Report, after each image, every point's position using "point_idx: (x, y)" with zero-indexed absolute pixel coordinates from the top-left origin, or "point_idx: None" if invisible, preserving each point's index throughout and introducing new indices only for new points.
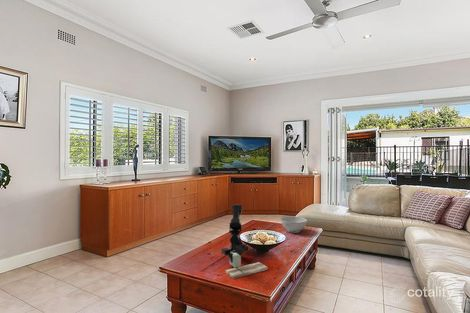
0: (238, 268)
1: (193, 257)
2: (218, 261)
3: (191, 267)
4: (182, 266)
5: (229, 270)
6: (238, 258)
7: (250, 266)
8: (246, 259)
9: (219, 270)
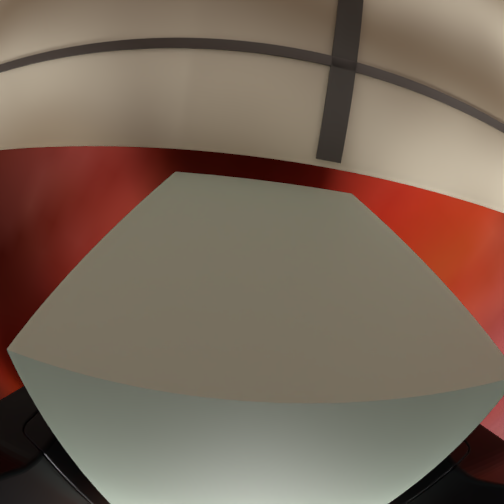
0: (313, 93)
1: None
2: None
3: (500, 417)
4: (500, 433)
5: (491, 161)
6: (234, 288)
7: (34, 50)
8: (5, 341)
9: (481, 299)
